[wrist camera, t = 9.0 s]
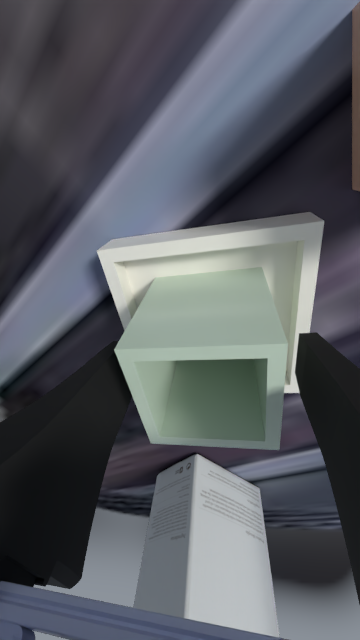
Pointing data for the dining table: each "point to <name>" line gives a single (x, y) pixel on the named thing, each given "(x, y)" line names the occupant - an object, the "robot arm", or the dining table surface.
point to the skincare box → (207, 550)
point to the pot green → (207, 360)
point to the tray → (226, 266)
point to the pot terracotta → (356, 98)
